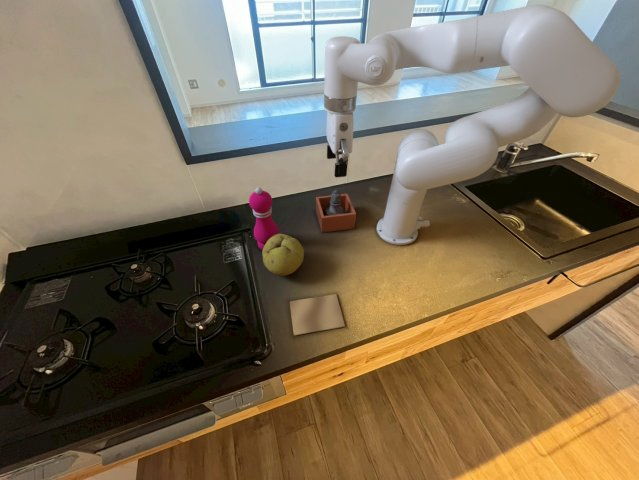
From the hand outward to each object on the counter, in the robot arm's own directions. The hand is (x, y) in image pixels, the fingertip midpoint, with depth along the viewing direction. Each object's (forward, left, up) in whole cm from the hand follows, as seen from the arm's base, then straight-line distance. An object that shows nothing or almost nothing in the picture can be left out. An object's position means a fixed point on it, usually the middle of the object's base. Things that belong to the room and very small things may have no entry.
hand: (336, 166), depth 78 cm
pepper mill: (+22, +7, -20) cm, 30 cm away
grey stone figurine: (0, 0, -20) cm, 20 cm away
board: (+12, +33, -20) cm, 40 cm away
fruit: (+18, +17, -20) cm, 31 cm away
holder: (0, 0, -20) cm, 20 cm away
